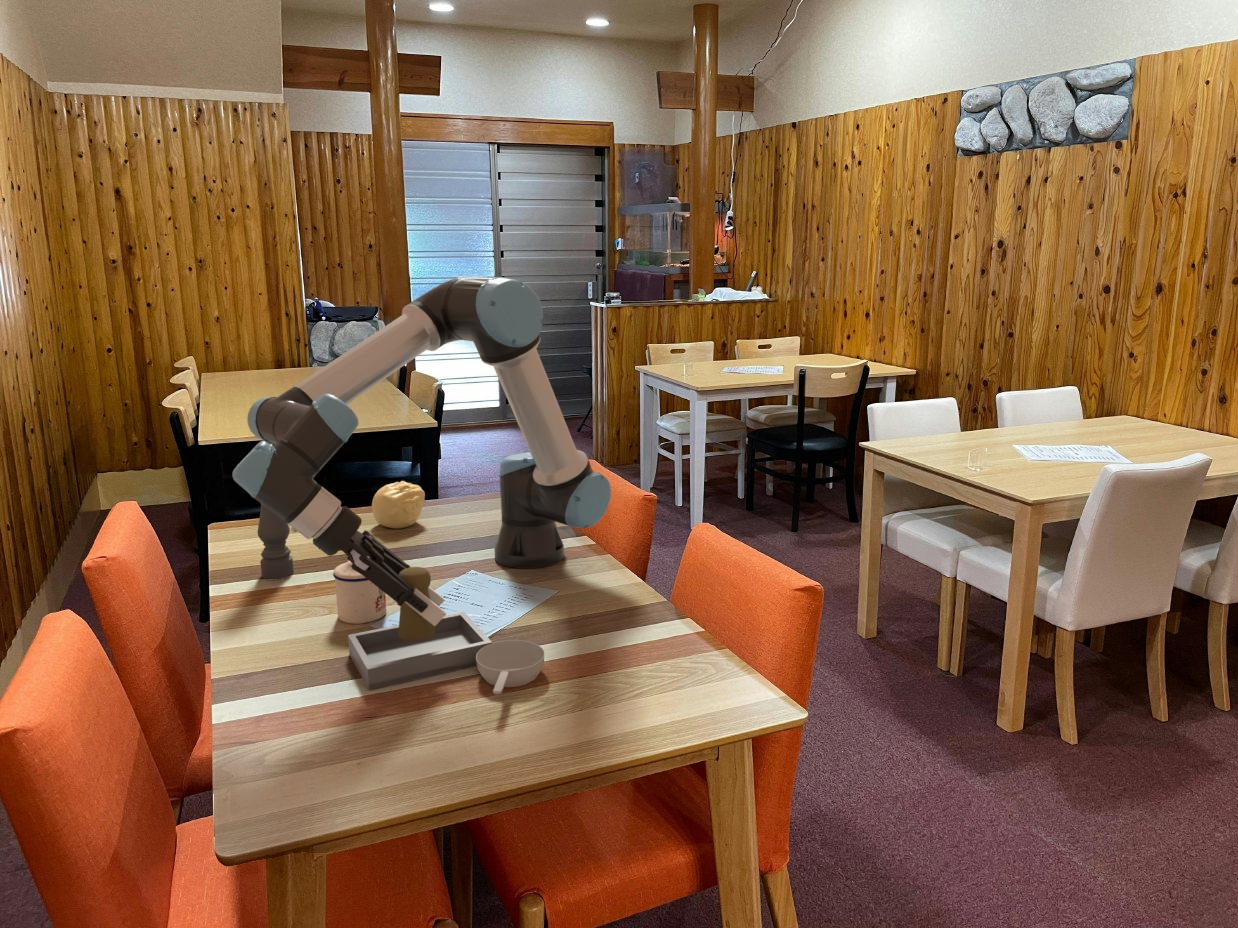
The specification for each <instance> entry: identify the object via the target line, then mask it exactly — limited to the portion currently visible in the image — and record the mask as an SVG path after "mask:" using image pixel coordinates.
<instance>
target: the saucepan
mask: <svg viewBox="0 0 1238 928" xmlns="http://www.w3.org/2000/svg"><path fill="white" fill-rule="evenodd" d="M476 662H477V666H476V667H477V670H478V671H479V674H480V675H481V677H482V678H483V679H484V680H485V682H487V683H488V684H489V685H492V686H494V688H493V690H492V693H493V694H494V695H500V694H502V693H503V690H504V688H515V687H517V688H518V687H521V686H524V685H528V684H529V682H530V683H531V681H532V682H533V681H535V680H536V679H537V678H538V676H539V674H540V673H541V671H542V669H543V667H544V663H545V650H544V649H543V647H542V646H540V645H539V644H537V643H534V642H531V641H529V640H528V641H527V640H521V639H510V640H509V639H508V640H501V641H496V642H492V644H489V645H487V646H485V647H483V648H482V649H480V650H479V651H478V653H477V654H476ZM527 683H528V684H527Z"/></svg>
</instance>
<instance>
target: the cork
mask: <svg viewBox="0 0 1238 928" xmlns="http://www.w3.org/2000/svg"><path fill="white" fill-rule="evenodd" d="M399 576H400V577H401V578H402V579H403V580H404V581H405V582H406V583H407V584H408V585H410V586H411V587H412V588H413V589H415V588H416V589H418V590H419V591H420V592H421V593H423V594H424V595H425V596H426V597H428V598H429V599H430V597H429V592H428V587H430V586H431V581H432V580H431V579H432V578H431V573H430V571H429V570H428V568H424V567H421V566H410V567H409V568H406V569H404V570H402V571H401V572H400V573H399ZM399 607H400V608H399V609H400V610H399V619H398V621H399V622H398V625H399V631H398V636H399V637H400V638H401V639H403V640H407V641H419V640H424V639H427V638H430V637H432V636H433V635H434V634H435V633H436V629H435V626H434V625H432V624H431V623H430V622H429V621H427V620H426V619H425V618H424V617H422V616H421V615H420V614H418V613H417V612H416V611H415V610H413V609H412V608H411V607H410V606H408V605H407V604H406V603H403V604H402V605H401V606H399Z"/></svg>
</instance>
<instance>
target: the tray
mask: <svg viewBox="0 0 1238 928" xmlns="http://www.w3.org/2000/svg"><path fill="white" fill-rule="evenodd" d="M435 629H436V633H435V634H434V635H433V636H432V637H430V638H427V639H424V640H419V641H407V640H403V639H401V638H400V637H399V636H398V631H399V624H396V625H392V626H391V625H390V626H386V627H382V628H377V629H372V630H371V629H370V630H367V631H361V632H357V633H350V634H348V635H347V641H348V642H347V643H348V654H349V656H350V658H351V659H352V662H353V664H354V665H355V667H356V669H357V671H358V673H359V675H360V676H361V678H362V680H363V682H364V684H365V685H366V687H367V690H368V691H372V690H377V689H382V688H386V687H390V686H395V685H399V684H403V683H408V682H411V681H417V680H421V679H425V678H429V677H434V676H437V675H444V674H447V673H452V672H456V671H460V670H464V669H469V668H473V667H477V662H476V654H477V653H478V651H479V650H480V649H482V648H483V647H485V646H487V645H489V644H492V643H493V641H492V640H491V639H490V638H489V637H488V635H486V634H485V633H484V632H483V630H481V628H480V627H479V626H478V625H477V624H476V622H474V621H473V620H472V618H471V617H470V616H468V614H467V613H466V612H465V611H462V612H456V613H452V614H446V615H445V616H444V617H443V618H442V619H441V620H440V621H439V623H438V624H437V625H436V626H435Z"/></svg>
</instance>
